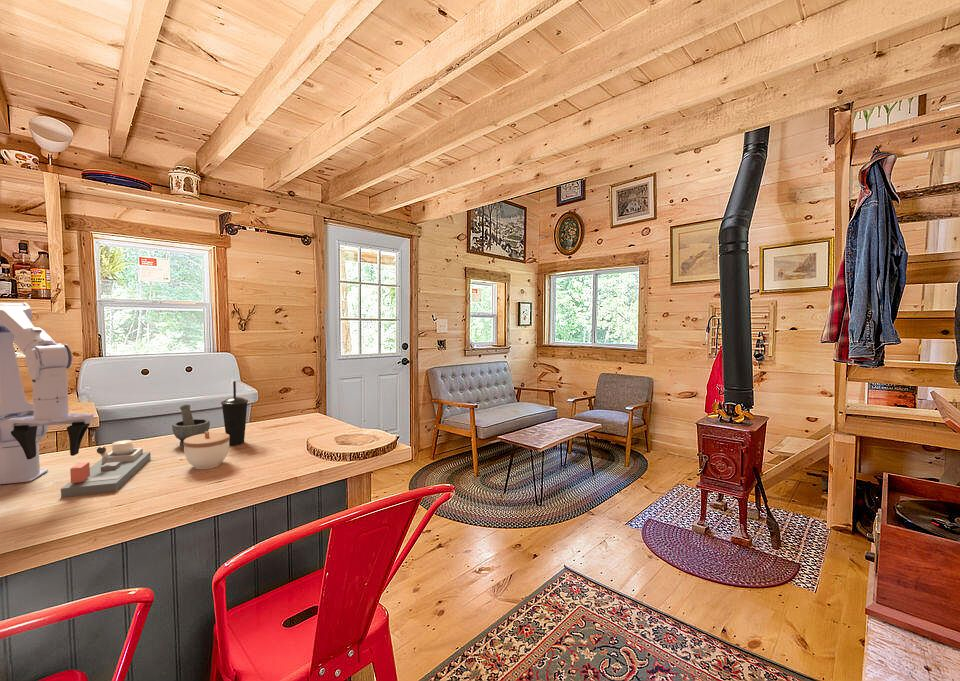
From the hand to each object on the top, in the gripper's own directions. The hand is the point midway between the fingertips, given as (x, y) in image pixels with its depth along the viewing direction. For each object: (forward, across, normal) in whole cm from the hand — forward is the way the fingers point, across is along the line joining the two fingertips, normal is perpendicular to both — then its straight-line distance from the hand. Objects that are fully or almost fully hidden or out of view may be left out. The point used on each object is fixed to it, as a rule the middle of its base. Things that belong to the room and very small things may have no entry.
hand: (53, 456), depth 100 cm
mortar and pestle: (+9, +20, +33) cm, 39 cm away
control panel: (+8, +8, +8) cm, 14 cm away
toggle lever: (+4, +7, +8) cm, 11 cm away
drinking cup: (+9, +33, +28) cm, 45 cm away
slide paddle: (+6, +5, 0) cm, 8 cm away
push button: (+5, +8, +16) cm, 18 cm away
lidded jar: (+9, +29, +8) cm, 31 cm away
